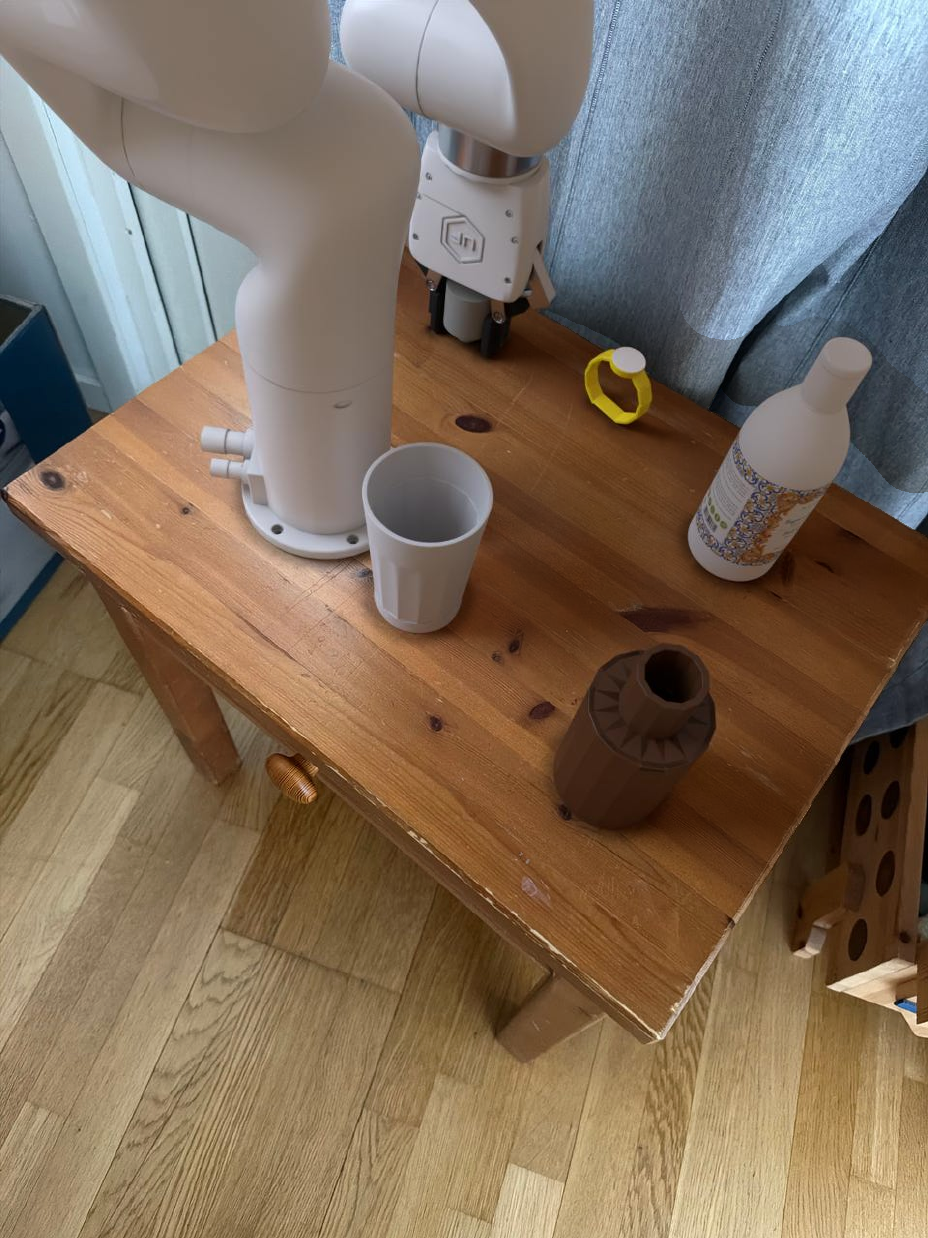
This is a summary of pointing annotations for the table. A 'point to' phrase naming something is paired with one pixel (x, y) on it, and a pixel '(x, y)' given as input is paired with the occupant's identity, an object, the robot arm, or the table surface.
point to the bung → (465, 311)
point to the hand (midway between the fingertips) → (467, 332)
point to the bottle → (635, 735)
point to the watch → (626, 366)
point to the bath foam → (779, 467)
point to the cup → (424, 531)
